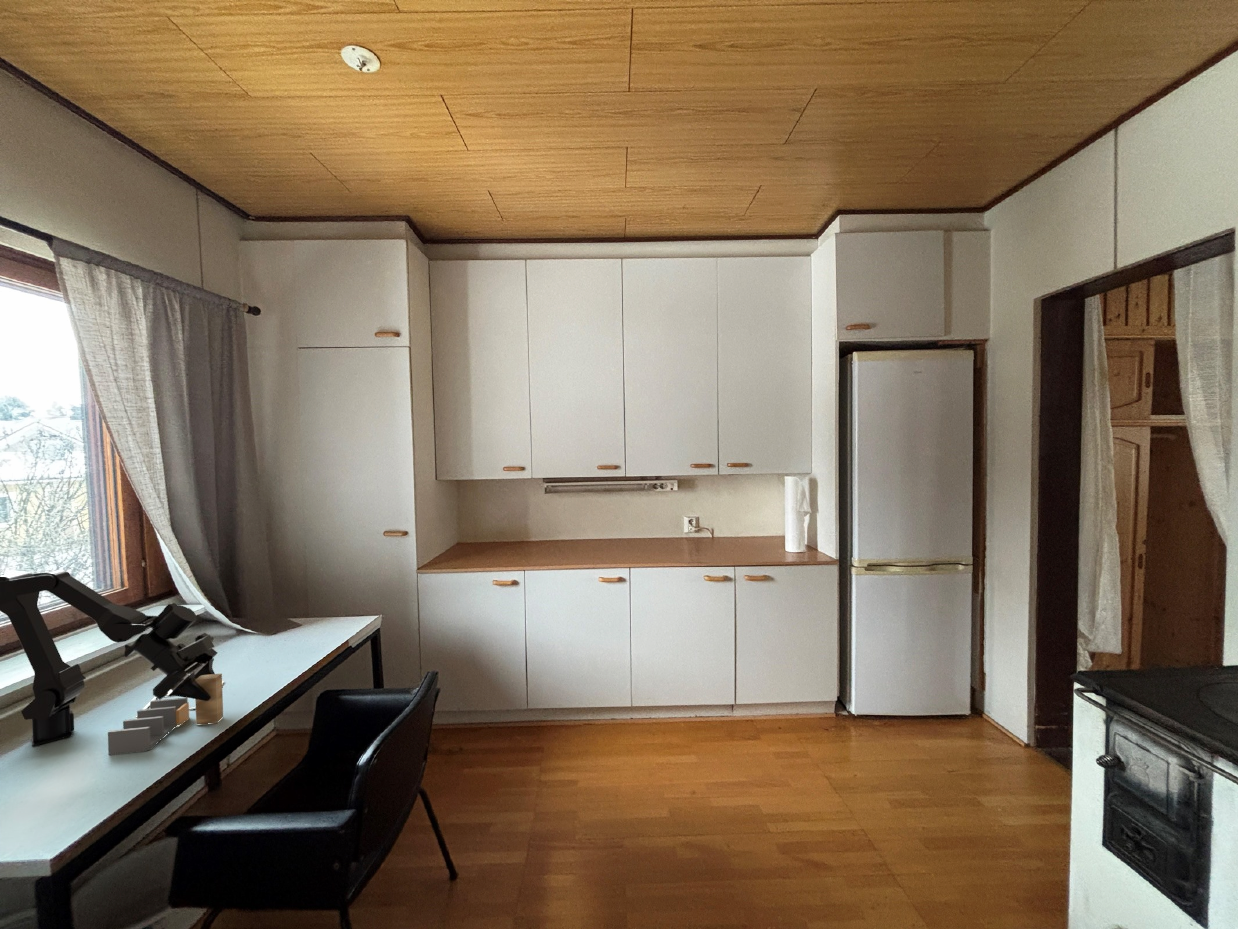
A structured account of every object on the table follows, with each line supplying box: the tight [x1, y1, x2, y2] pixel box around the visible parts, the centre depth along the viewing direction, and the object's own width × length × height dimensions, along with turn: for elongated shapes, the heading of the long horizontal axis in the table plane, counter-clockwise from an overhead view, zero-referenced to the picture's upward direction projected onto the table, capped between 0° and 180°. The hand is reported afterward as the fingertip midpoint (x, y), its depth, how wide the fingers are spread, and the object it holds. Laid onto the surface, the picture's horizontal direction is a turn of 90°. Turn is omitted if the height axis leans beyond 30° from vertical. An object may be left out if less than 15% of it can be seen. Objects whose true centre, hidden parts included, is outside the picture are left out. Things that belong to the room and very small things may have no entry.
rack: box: [107, 697, 190, 756], centre depth 134 cm, size 8×16×5 cm, turn 12°
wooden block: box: [195, 673, 224, 725], centre depth 140 cm, size 4×3×11 cm, turn 102°
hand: (215, 694), depth 141 cm, fingers open, 6 cm apart
